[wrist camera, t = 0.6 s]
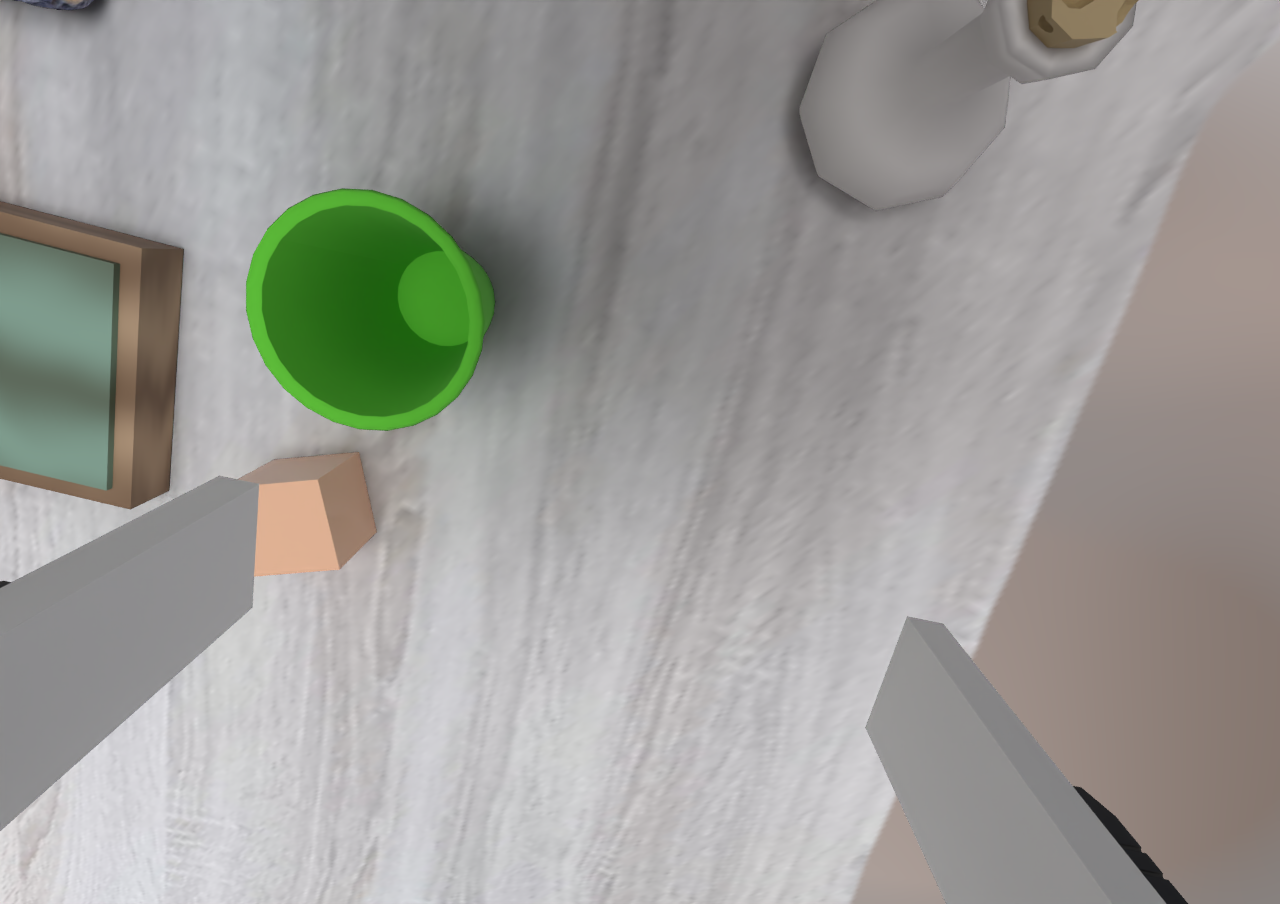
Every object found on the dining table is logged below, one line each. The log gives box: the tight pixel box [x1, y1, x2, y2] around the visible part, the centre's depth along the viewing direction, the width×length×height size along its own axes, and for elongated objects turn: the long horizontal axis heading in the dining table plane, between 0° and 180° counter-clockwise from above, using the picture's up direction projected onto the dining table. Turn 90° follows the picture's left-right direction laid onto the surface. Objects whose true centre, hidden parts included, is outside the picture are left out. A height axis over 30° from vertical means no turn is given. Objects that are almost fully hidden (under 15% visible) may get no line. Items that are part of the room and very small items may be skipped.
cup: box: [246, 189, 495, 431], centre depth 30 cm, size 9×9×11 cm
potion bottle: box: [799, 0, 1138, 211], centre depth 24 cm, size 9×9×18 cm
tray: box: [0, 201, 183, 509], centre depth 35 cm, size 14×14×3 cm
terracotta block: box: [237, 452, 377, 576], centre depth 37 cm, size 5×5×5 cm
